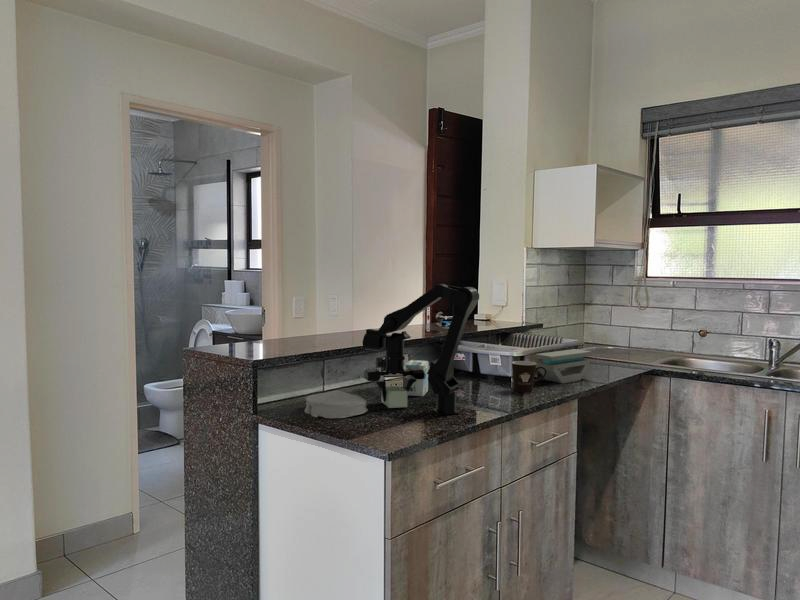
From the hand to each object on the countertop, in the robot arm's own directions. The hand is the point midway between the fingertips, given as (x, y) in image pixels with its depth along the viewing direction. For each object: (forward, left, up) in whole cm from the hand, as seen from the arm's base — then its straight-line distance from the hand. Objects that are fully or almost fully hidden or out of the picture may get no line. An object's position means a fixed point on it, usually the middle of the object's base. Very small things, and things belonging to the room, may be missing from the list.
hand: (394, 400), depth 199 cm
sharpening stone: (+25, -77, -2) cm, 81 cm away
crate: (0, 0, -1) cm, 1 cm away
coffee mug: (+10, -53, -2) cm, 54 cm away
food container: (-2, +19, -2) cm, 19 cm away
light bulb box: (+16, -13, -2) cm, 21 cm away
